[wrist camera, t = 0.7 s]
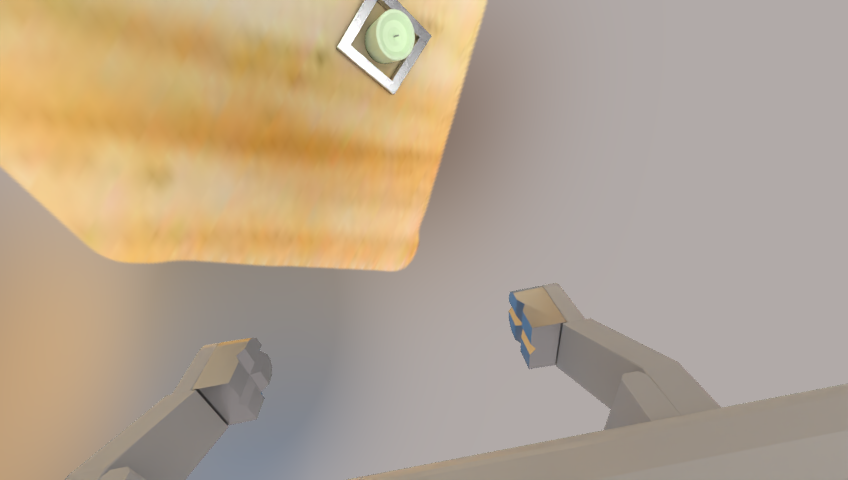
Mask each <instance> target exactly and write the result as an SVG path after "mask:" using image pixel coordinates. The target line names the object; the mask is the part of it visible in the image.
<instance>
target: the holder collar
mask: <svg viewBox="0 0 848 480" xmlns="http://www.w3.org/2000/svg"><path fill="white" fill-rule="evenodd" d="M376 2H378V3H379V4H380V5H381V6H382V7H383V8H384V9H385V10H386V11H388V10H390V9H397V10H400V11H402V12H403V13H405V14H406V15H407V16H408V18H409V19H410V21H411V23H412V25H413V28H414V33H415V42H414V46H413V49H412V51H411V53H410V54H409V55H408V56H407V57H406V58H405V59H403V60H402V61H401V63H400V64H399V66H398V67H397V69H396V71H395V72H394V74H393V75H392V77H391V79H389V78H388V77H387V76H386V75H385V74H383V73H382V72H381V71H380V70H379V69H378V68H376V67H375V66H374V65H373V64H372V63H371V62H370V61H368V60H367V59H366V58H365V57H364V56H363V55H361V54H360V53H359V52H358V51H357V50H356V49H354V48H353V47H352V46H351V44H352V42H353V40H354V39H355V37H356V35H357V34H358V32H359V30H360V29H361V27H362V25H363V24H364V22H365V20H366V19H367V17H368V15H369V14H370V12H371V10H372V8H373V7H374V5H375V3H376ZM430 38H431V35H430V34H429V33H428V32H427V31H426V30H425V29H424V28H423V27H422V26H421V25H420V24H419V23H418V22H417V20H416V19H415V18H414V17H413V16H412V15H411V14H410V13H409V12H408V11H407V10H406V9H405V8H404V7H403V6H402V5H401V4H400V3H399V2H398V1H397V0H364V1H363V3H362V5H361V6H360V8H359V10H358V12H357V13H356V15H355V17H354V18H353V20H352V22H351V24H350V25H349V27H348V29H347V30H346V32H345V34H344V36H343V37H342V39H341V41H340V42H339V44H338V46H337V47H336V49H337V50H339V51H340V52H341V53H342V54H343V55H345V56H346V57H347V58H348V59H349V60H351V61H352V62H353V63H354V64H355V65H357V66H358V67H359V68H360V69H361V70H363V71H364V72H365V73H366V74H367V75H369V76H370V77H371V78H372V79H373V80H375V81H376V82H377V83H378V84H379V85H381V86H382V87H383V88H384V89H385V90H387V91H388V92H389V93H390V94H395V92H396V91H397V89H398V88H399V86H400V85H401V83H402V81H403V80H404V78H405V77H406V75H407V74H408V72H409V71H410V69H411V67H412V66H413V64H414V63H415V61H416V60H417V58H418V56H419V55H420V53H421V52H422V50H423V49H424V47H425V46H426V44H427V42H428V41H429V39H430Z"/></svg>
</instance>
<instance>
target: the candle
mask: <svg viewBox="0 0 848 480" xmlns="http://www.w3.org/2000/svg"><path fill="white" fill-rule="evenodd" d="M414 42H415V33H414V28H413V25H412V23H411V21H410V19H409V18H408V16H407V15H406V14H405V13H403V12H402V11H400V10H397V9H390V10H388V11H385V12H384V13H383V14H382V15H381V16H380V17H379V18H378V19H377V20H376V21H374V22H373V23H372V24H371V25H370V26H369V27H368V29H367V31H366V34H365V46H366V50H367V52H368V54H369V55H370V57H371V58H372V59H373V60H375V61H376V62H378V63H381V64H387V63H392V62H396V61H400V60H403V59H405V58H406V57H407V56H408V55H409V54H410V53H411V51H412V49H413V46H414Z"/></svg>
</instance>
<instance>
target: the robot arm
mask: <svg viewBox="0 0 848 480" xmlns="http://www.w3.org/2000/svg"><path fill="white" fill-rule="evenodd" d="M509 302H510V304H511V306H512V307H511V309H510V310H509V321H510V327H511V330H512V333H513V335H514V338H515V340H517V341H519V342H520V343H521V353H522V355H523V357H524V359H525V362H526V364H527V366H528V368H529V369H532V368H539V367H545V366H552V365H556V366H557V367H558V368H559V369H561V370H562V371H563V372H564V373H566V374H567V375H568V376H569V377H571V378H572V379H573V380H575V381H576V382H577V383H578V384H580V385H581V386H582V387H583V388H585V389H586V390H587V391H588V392H590V393H591V394H592V395H593V396H595V397H596V398H597V399H598V400H600V401H601V402H602V403H604V404H605V405H606V406H608V407H609V408H610V409H611V410H610V414H609V416H608V419H607V422H606V425H605V428H604V430H603V431H598V432H592V433H587V434H582V435H577V436H571V437H567V438H561V439H556V440H551V441H545V442H540V443H535V444H530V445H525V446H519V447H515V448H509V449H504V450H498V451H494V452H488V453H483V454H477V455H472V456H467V457H462V458H456V459H451V460H446V461H441V462H435V463H431V464H425V465H420V466H414V467H409V468H404V469H399V470H393V471H389V472H383V473H378V474H373V475H368V476H362V477H357V478H352V479H347V480H848V383H847V384H842V385H837V386H832V387H827V388H822V389H816V390H812V391H806V392H801V393H795V394H790V395H785V396H780V397H775V398H769V399H764V400H759V401H754V402H748V403H743V404H738V405H733V406H728V407H722V408H721V407H720V406H719V405H718V404H717V402H716V401H715V400H714V399H713V398H712V397H711V396H710V395H709V394H708V393H707V392H706V391H705V390H704V389H703V388H702V387H701V386H700V385H699V383H698V382H696V380H695V379H694V378H693V377H692V376H691V375H690V374H689V373H688V372H687V371H686V370H685V369H684V368H683V367H682V365H681V364H680V363H678V362H677V361H675V360H673V359H671V358H669V357H667V356H665V355H663V354H661V353H659V352H657V351H655V350H653V349H651V348H649V347H647V346H644V345H643V344H640V343H638V342H637V341H635V340H633V339H631V338H629V337H626V336H625V335H623V334H621V333H619V332H616V331H615V330H613V329H611V328H609V327H607V326H605V325H602V324H601V323H598V322H597V321H595V320H593V319H585V318H584V316H583V315H582V314H581V313H580V311H579V310H578V309H577V307H576V306H575V305H574V303H573V302H572V301H571V299H570V298H569V297H568V295H567V294H566V293H565V292H564V290H563V289H562V288H561V286H560V285H559V284H557V283H553V284H548V285H542V286H538V287H532V288H527V289H522V290H516V291H512V292H510V294H509ZM260 348H261V343H260V342H259V341H258V339H257V338H248V339H241V340H236V341H229V342H222V343H217V344H211V345H205V346H204V347H202V348H201V349H200V350H199V351H198V353H197V355H196V356H195V358H194V359H193V361H192V363H191V364H190V366H189V367H188V369H187V371H186V372H185V374H184V376H183V377H182V379H181V381H180V382H179V384H178V385H177V387H176V389H175V390H174V392H173V393H172V394H171V395H167V396H165V397H164V398H163V399H161V400H160V401H159V402H158V403H157V404H155V405H154V406H153V407H152V408H151V409H149V410H148V411H147V412H146V413H144V414H143V415H142V416H141V417H139V418H138V419H137V420H136V421H134V422H133V423H132V424H131V425H130V426H129V427H127V428H126V429H125V430H123V431H122V432H121V433H120V434H119V435H118V436H116V437H115V438H114V439H112V440H111V441H110V442H109V443H107V444H106V445H105V446H104V447H103V448H101V449H100V450H99V451H98V452H96V453H95V454H94V455H93V456H92V457H90V458H89V459H88V460H87V461H85V462H84V463H83V464H82V465H80V466H79V467H78V468H77V469H76V470H74V471H73V472H72V473H71V474H70V475H68V476H67V478H66V479H65V480H186V478H187V477H188V476H189V475H190V474H191V472H192V471H193V470H194V469H195V467H196V466H197V465H198V464H199V462H200V461H201V460H202V459H203V458H204V456H205V455H206V454H207V453H208V451H209V450H210V449H211V448H212V447H213V446H214V444H215V443H216V442H217V441H218V439H219V438H220V437H221V436H222V435H223V433H224V432H225V431H226V429H227V428H228V425H233V424H237V423H242V422H246V421H252V420H256V419H257V418H258V415H259V412H260V409H261V406H262V403H263V400H264V396H263V394H262V391H263V390H264V389H265V388H266V387H267V386H268V385H269V383H270V380H271V376H272V364H271V360H270V358H269V356H268V355H267V354H266V353H264V352H262V351H260Z"/></svg>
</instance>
